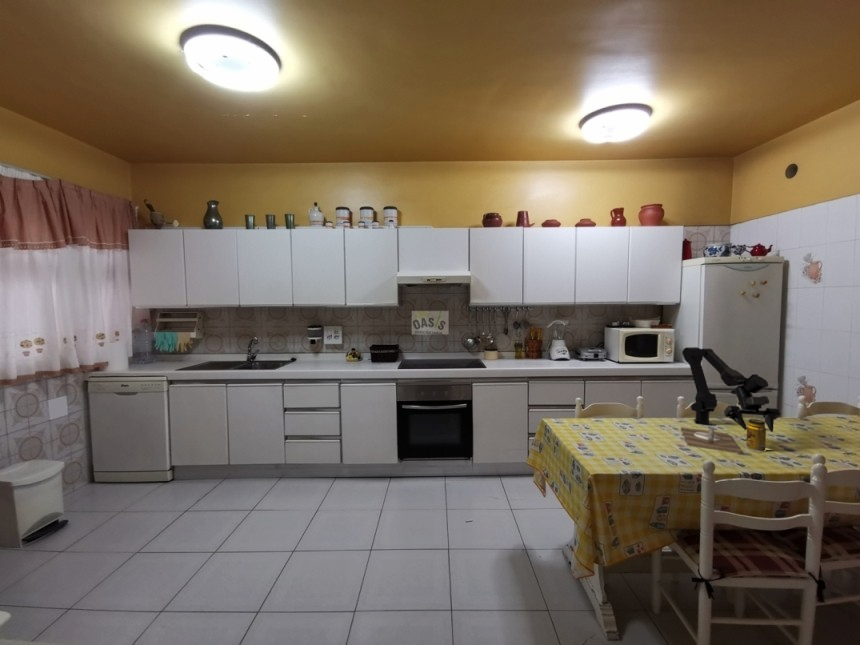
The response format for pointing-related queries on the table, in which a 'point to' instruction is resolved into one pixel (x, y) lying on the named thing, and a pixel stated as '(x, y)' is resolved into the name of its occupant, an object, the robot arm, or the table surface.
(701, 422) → the robot arm
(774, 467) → the table surface
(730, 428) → the table surface
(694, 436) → the locating plate
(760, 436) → the condiment
